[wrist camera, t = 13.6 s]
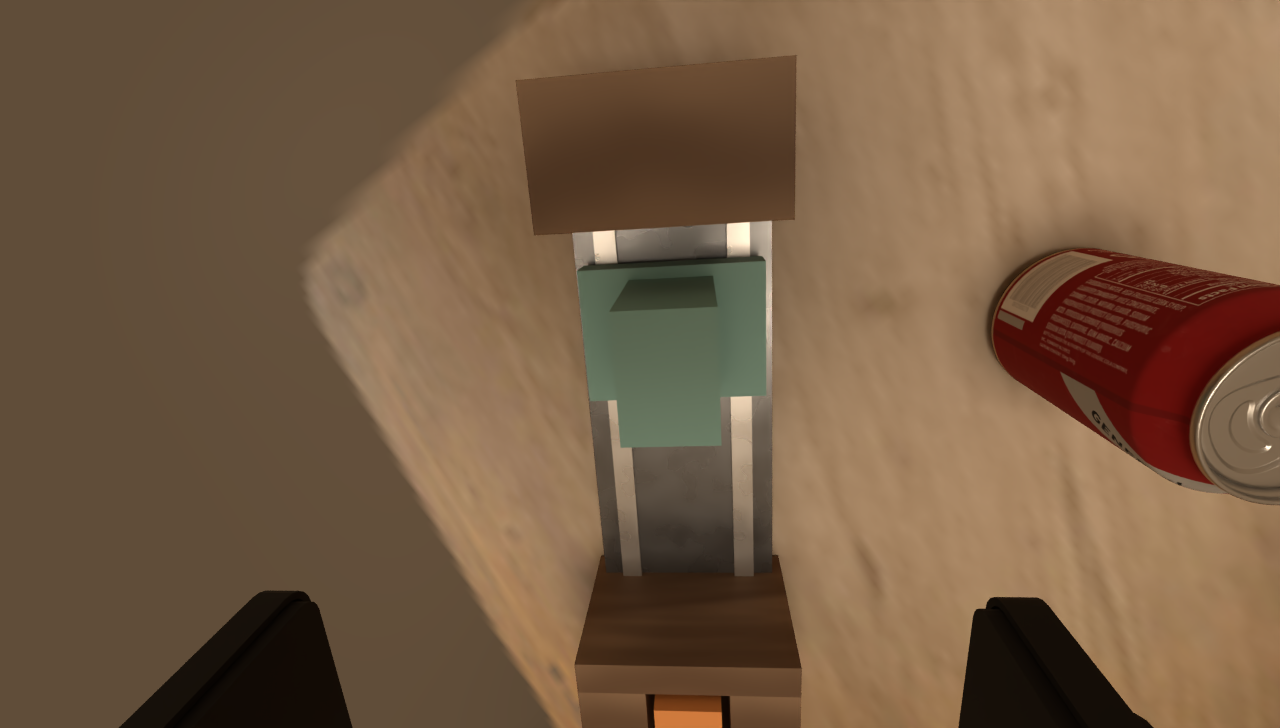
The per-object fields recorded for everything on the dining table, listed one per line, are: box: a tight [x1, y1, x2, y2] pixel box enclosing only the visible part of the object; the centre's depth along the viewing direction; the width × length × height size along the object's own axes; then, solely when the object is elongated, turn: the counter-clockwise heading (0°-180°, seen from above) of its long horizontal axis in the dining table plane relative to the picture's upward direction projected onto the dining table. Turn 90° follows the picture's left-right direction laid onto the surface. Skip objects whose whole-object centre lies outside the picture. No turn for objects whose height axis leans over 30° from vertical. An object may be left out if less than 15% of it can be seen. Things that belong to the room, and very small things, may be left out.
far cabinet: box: [575, 556, 802, 728], centre depth 31 cm, size 7×10×8 cm
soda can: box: [991, 248, 1280, 505], centre depth 23 cm, size 7×7×12 cm
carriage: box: [577, 256, 766, 448], centre depth 24 cm, size 6×8×8 cm
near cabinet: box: [516, 55, 796, 235], centre depth 24 cm, size 5×9×8 cm, turn 94°
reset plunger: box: [654, 694, 722, 728], centre depth 31 cm, size 3×3×8 cm
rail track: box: [572, 221, 772, 576], centre depth 30 cm, size 21×9×2 cm, turn 4°
